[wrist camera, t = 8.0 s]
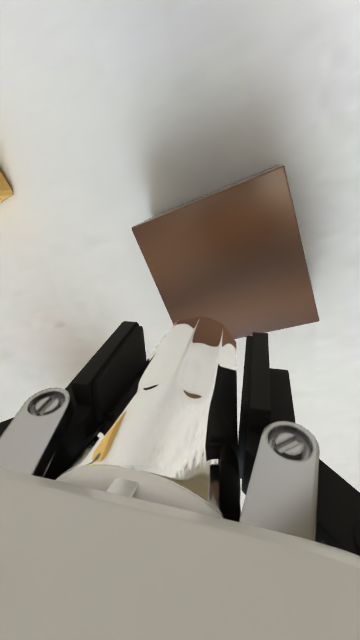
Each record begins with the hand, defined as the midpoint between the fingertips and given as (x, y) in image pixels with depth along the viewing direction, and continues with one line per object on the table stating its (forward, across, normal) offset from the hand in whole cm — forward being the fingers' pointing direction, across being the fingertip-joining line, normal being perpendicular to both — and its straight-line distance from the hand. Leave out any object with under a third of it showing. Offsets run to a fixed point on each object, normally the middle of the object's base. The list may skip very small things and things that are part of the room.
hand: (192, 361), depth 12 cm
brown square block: (+17, 0, 0) cm, 17 cm away
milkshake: (+2, 0, 0) cm, 2 cm away
